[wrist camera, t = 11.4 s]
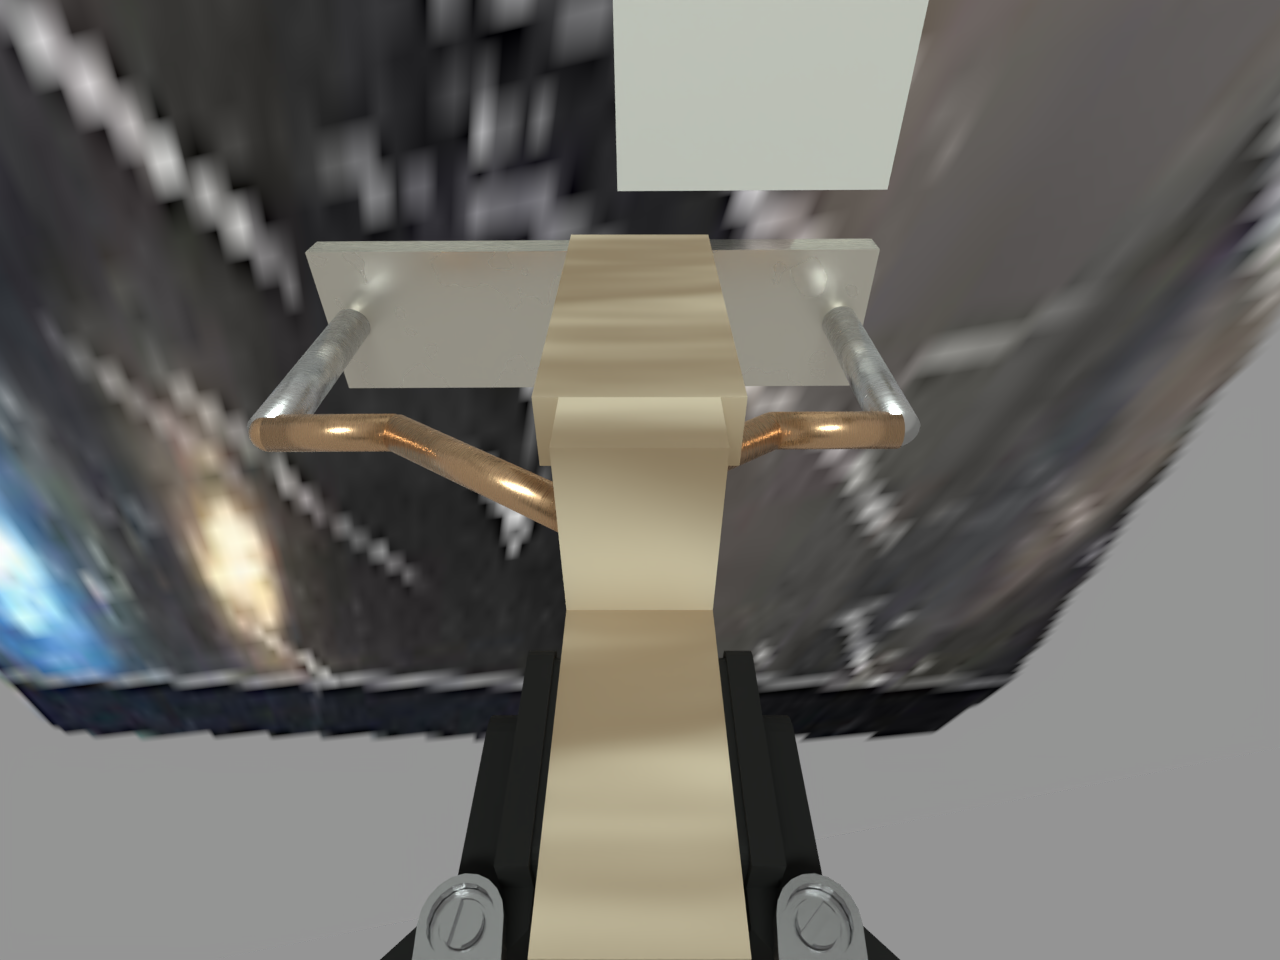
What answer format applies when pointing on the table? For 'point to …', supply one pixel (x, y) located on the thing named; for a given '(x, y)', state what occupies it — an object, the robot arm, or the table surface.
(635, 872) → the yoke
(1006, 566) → the table surface
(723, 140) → the pad
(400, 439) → the wire
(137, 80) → the table surface
